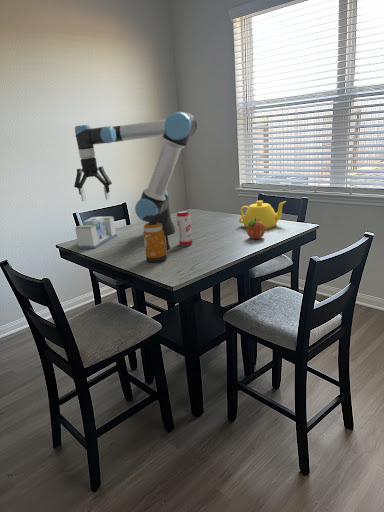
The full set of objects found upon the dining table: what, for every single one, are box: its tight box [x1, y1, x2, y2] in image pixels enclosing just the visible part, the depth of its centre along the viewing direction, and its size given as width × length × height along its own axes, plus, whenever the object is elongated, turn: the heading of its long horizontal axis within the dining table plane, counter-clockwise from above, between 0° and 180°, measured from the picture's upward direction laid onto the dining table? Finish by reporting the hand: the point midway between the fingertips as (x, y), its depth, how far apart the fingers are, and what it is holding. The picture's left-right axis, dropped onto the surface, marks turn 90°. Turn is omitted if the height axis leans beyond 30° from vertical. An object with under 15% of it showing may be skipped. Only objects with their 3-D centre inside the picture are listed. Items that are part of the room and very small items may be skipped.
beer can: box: [176, 210, 193, 247], centre depth 185 cm, size 6×6×16 cm
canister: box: [142, 214, 171, 263], centre depth 166 cm, size 9×11×20 cm
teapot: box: [238, 200, 287, 230], centre depth 205 cm, size 25×18×14 cm
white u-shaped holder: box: [74, 215, 118, 250], centre depth 204 cm, size 10×23×11 cm, turn 163°
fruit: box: [246, 218, 266, 240], centre depth 185 cm, size 9×10×10 cm
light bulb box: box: [82, 216, 107, 241], centre depth 204 cm, size 11×7×11 cm, turn 165°
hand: (95, 200), depth 201 cm, fingers open, 13 cm apart
